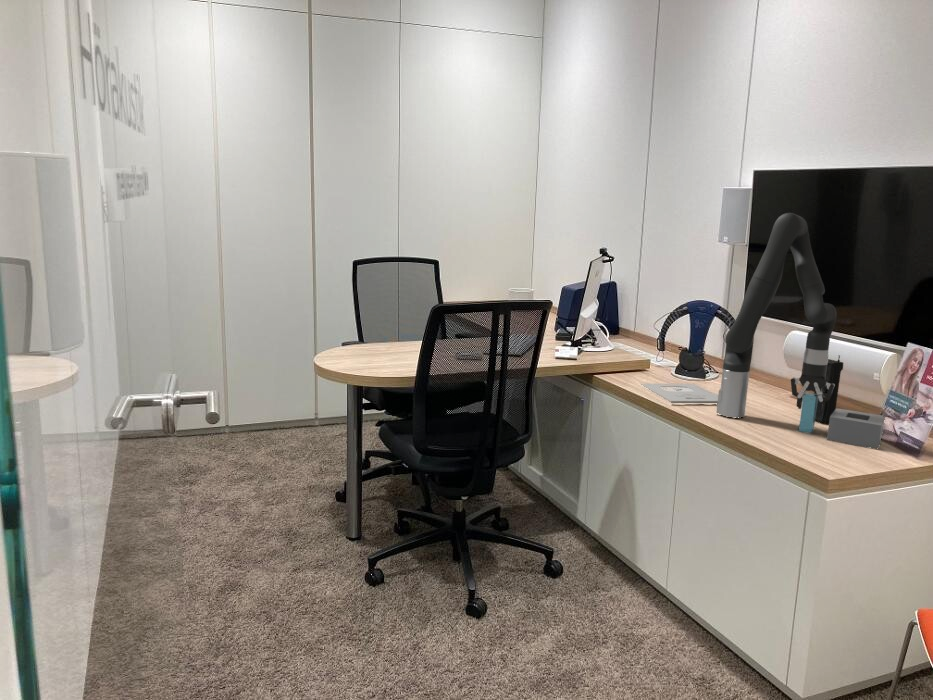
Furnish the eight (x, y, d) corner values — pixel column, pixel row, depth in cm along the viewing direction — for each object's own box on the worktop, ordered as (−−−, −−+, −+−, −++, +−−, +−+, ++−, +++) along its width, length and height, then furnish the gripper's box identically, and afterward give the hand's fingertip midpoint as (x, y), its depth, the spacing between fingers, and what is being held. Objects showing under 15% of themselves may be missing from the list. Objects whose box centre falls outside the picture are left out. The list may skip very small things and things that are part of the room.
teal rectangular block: (798, 431, 252) (803, 394, 250) (801, 428, 256) (806, 392, 254) (811, 433, 250) (816, 396, 248) (813, 430, 254) (818, 394, 252)
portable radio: (806, 418, 270) (814, 352, 266) (818, 417, 272) (827, 351, 268) (823, 424, 263) (832, 356, 258) (835, 423, 265) (845, 355, 261)
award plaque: (670, 406, 281) (671, 401, 281) (639, 388, 310) (639, 383, 310) (729, 406, 286) (730, 400, 285) (693, 388, 315) (693, 383, 314)
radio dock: (826, 440, 243) (829, 416, 242) (833, 430, 255) (836, 408, 254) (878, 449, 235) (881, 425, 234) (882, 439, 247) (885, 416, 246)
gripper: (790, 360, 250) (784, 408, 253) (837, 366, 242) (830, 416, 245) (794, 357, 256) (788, 404, 259) (840, 363, 248) (833, 411, 251)
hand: (809, 409), depth 252 cm, fingers open, 5 cm apart
